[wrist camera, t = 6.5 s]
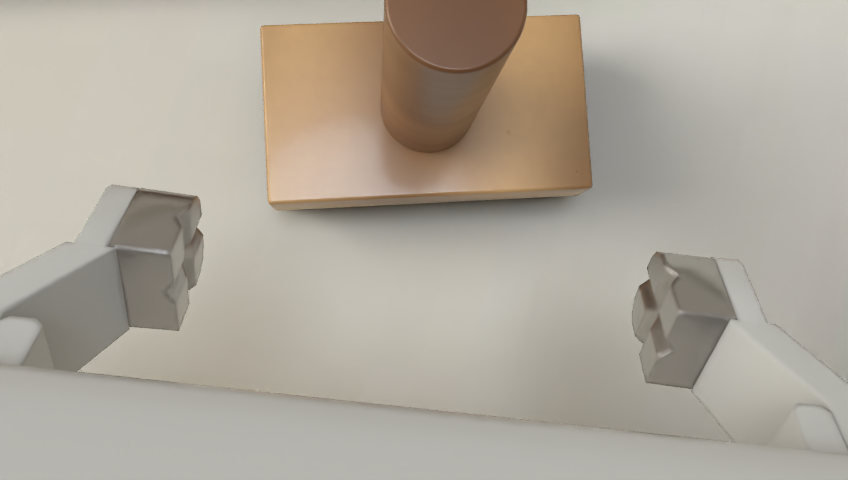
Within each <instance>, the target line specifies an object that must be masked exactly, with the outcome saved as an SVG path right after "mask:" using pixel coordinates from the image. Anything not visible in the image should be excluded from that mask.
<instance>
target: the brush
mask: <svg viewBox="0 0 848 480" xmlns="http://www.w3.org/2000/svg"><path fill="white" fill-rule="evenodd" d="M260 34H261V56H262V79H263V101H264V124H265V146H266V169H267V191H268V202H269V204H270V205H271V206H272V207H273V208H274V209H275V210H278V211H279V210H299V209H319V208H338V207H358V206H378V205H398V204H418V203H437V202H457V201H477V200H497V199H517V198H537V197H556V196H576V195H578V194H580V193H582V192H584V191H586V190H588V189H590V188H592V173H591V160H590V147H589V133H588V120H587V106H586V93H585V79H584V66H583V53H582V39H581V26H580V17H579V15H554V16H527V0H384V21H380V22H352V23H323V24H294V25H265V26H261V29H260Z"/></svg>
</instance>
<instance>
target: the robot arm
mask: <svg viewBox="0 0 848 480" xmlns="http://www.w3.org/2000/svg"><path fill="white" fill-rule="evenodd" d="M201 215H202V213H201V204H200V199H199V198H198V197H197V196H193V195H186V194H179V193H172V192H165V191H158V190H151V189H144V188H141V189H139V188H134V187H127V186H120V185H111V186H109V187H107V188H106V189H105V191H104V192H103V194H102V196H101V198H100V199H99V201H98V203H97V204H96V206H95V208H94V210H93V211H92V213H91V215H90V216H89V218H88V220H87V222H86V223H85V225H84V227H83V228H82V230H81V232H80V234H79V235H78V237H77V239H76V241H75V242H74V243H72V242H65V243H63V244H61V245H59V246H57V247H55V248H53V249H51V250H49V251H47V252H45V253H44V254H42V255H40V256H38V257H36V258H34V259H32V260H30V261H28V262H26V263H24V264H22V265H20V266H19V267H17V268H15V269H13V270H11V271H9V272H7V273H5V274H3V275H1V276H0V480H848V383H847V382H846V381H845V380H844V379H842V378H841V377H840V376H839V375H837V374H836V373H835V372H834V371H832V370H831V369H830V368H829V367H828V366H826V365H825V364H824V363H823V362H821V361H820V360H819V359H818V358H817V357H815V356H814V355H813V354H812V353H810V352H809V351H808V350H807V349H805V348H804V347H803V346H802V345H801V344H799V343H798V342H797V341H796V340H794V339H793V338H792V337H791V336H789V335H788V334H787V333H786V332H785V331H783V330H782V329H781V328H780V327H778V326H777V325H776V324H768V322H767V320H766V317H765V315H764V313H763V310H762V308H761V306H760V303H759V301H758V299H757V296H756V294H755V291H754V289H753V287H752V284H751V282H750V280H749V277H748V275H747V273H746V270H745V268H744V265H743V264H742V263H741V262H740V261H739V260H734V259H724V258H714V257H711V258H707V257H698V256H689V255H681V254H672V253H663V252H656V253H655V254H654V255H653V256H652V258H651V260H650V262H649V264H648V267H647V270H648V274H649V278H650V279H649V280H647V281H646V282H644V283H643V284H641V285H640V286H639V288H638V291H637V293H636V296H635V299H634V304H633V311H632V324H633V329H634V334H635V336H636V337H637V338H638V339H639V340H640V341H641V342H642V343H643V347H642V349H641V351H640V353H639V356H640V360H641V364H642V369H643V373H644V377H645V381H646V383H651V384H659V385H666V386H673V387H681V388H688V389H692V390H691V391H692V393H693V394H694V395H695V396H696V397H697V399H698V400H699V401H700V402H701V403H702V405H703V406H704V407H705V408H706V409H707V410H708V412H709V413H710V414H711V415H712V416H713V418H714V419H715V420H716V421H717V422H718V424H719V425H720V426H721V427H722V428H723V430H724V431H725V432H726V433H727V434H728V436H729V437H730V438H731V439H732V440H733V442H729V441H719V440H710V439H700V438H690V437H681V436H671V435H662V434H652V433H643V432H634V431H625V430H615V429H606V428H597V427H588V426H579V425H569V424H560V423H551V422H542V421H533V420H523V419H514V418H505V417H496V416H486V415H477V414H467V413H458V412H449V411H439V410H430V409H420V408H411V407H401V406H392V405H383V404H373V403H364V402H354V401H345V400H335V399H326V398H317V397H307V396H298V395H289V394H280V393H270V392H261V391H252V390H242V389H233V388H224V387H215V386H205V385H196V384H187V383H177V382H168V381H159V380H150V379H140V378H131V377H122V376H112V375H103V374H94V373H85V372H77V371H78V370H79V369H81V368H82V367H83V366H84V365H86V364H87V363H88V362H89V361H91V360H92V359H93V358H94V357H96V356H97V355H98V354H99V353H101V352H102V351H103V350H104V349H105V348H107V347H108V346H109V345H110V344H112V343H113V342H114V341H115V340H117V339H118V338H119V337H120V336H122V335H123V334H124V333H125V332H127V331H128V330H129V327H139V328H151V329H163V330H175V331H179V329H180V327H181V324H182V321H183V319H184V316H185V314H186V311H187V308H188V306H189V294H188V290H190V289H191V288H193V287H194V286H196V284H197V281H198V278H199V275H200V272H201V266H202V261H203V249H204V242H203V234H202V233H201V232H200V230H199V229H198V228H197V225H198V223H199V220H200V218H201Z"/></svg>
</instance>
